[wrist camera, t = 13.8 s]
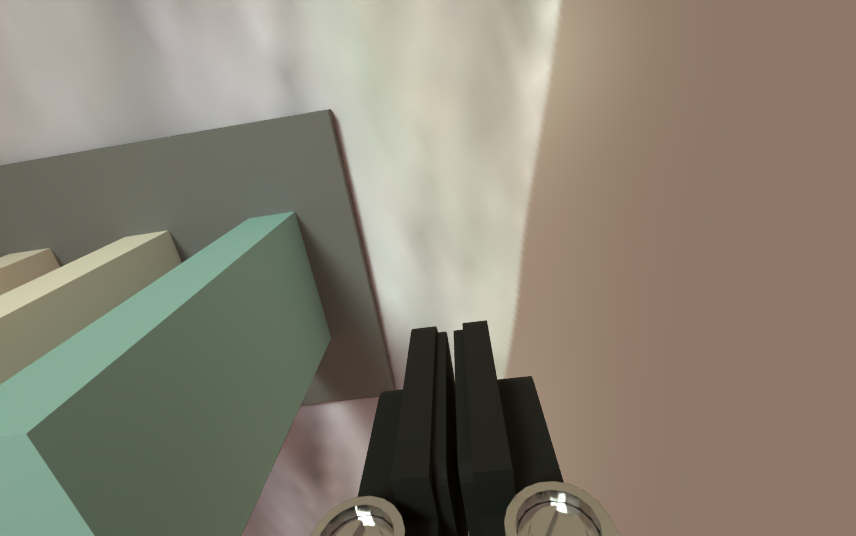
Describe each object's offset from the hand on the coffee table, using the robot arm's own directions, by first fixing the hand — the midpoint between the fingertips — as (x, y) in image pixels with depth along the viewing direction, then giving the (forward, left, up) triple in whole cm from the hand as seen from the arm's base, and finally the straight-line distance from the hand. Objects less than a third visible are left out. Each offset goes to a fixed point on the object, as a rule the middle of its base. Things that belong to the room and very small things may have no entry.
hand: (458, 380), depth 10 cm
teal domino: (-6, 0, -7) cm, 10 cm away
